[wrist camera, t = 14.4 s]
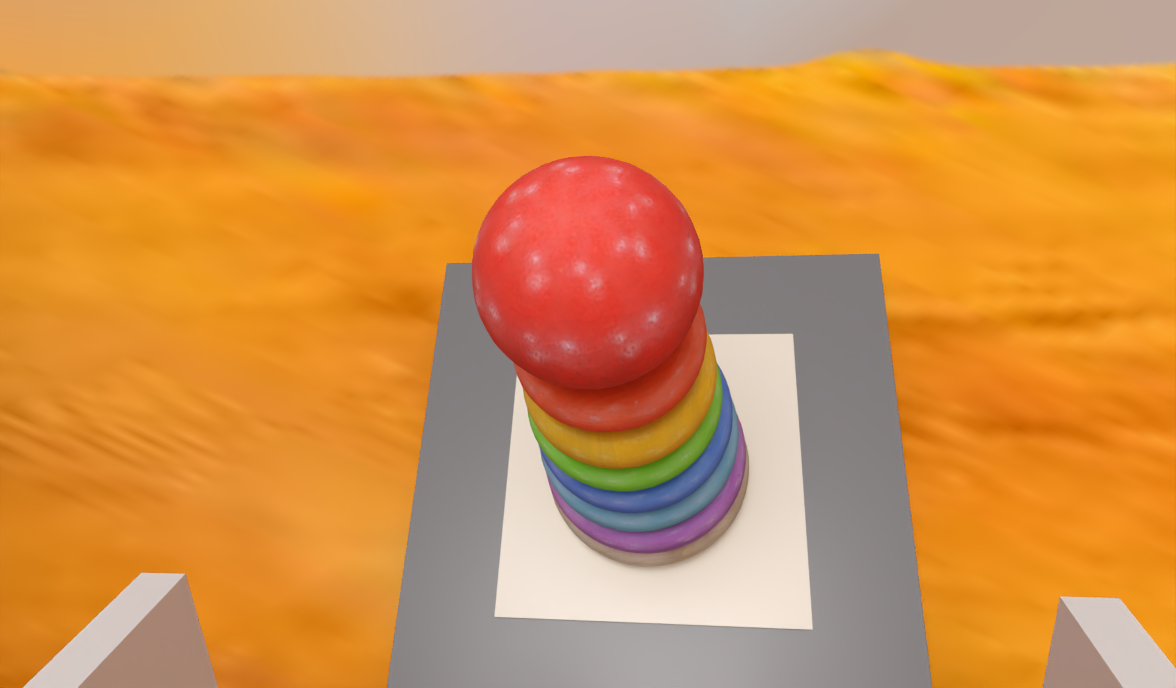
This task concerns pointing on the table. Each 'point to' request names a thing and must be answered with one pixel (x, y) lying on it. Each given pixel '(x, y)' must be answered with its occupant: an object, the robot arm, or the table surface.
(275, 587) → the table surface
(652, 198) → the stacking toy
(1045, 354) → the table surface
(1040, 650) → the table surface
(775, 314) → the plate
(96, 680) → the robot arm
